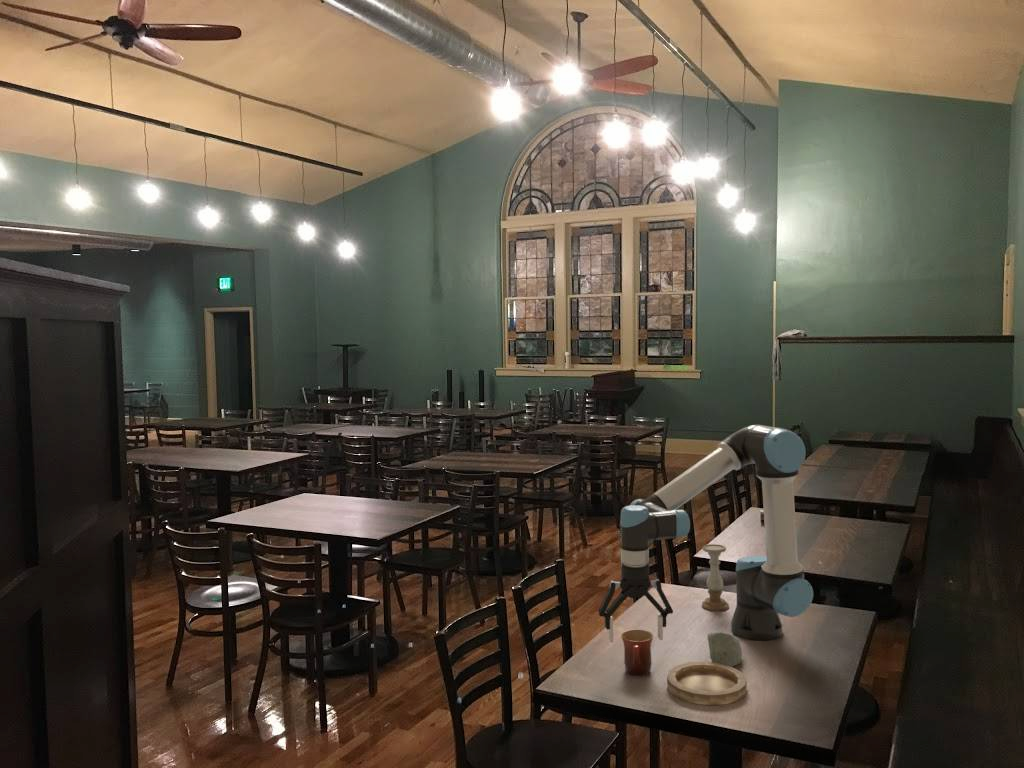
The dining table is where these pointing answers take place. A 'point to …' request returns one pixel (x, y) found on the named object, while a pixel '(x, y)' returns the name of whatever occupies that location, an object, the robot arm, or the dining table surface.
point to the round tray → (706, 683)
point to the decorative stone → (724, 648)
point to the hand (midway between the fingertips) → (635, 639)
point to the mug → (637, 651)
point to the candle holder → (714, 579)
